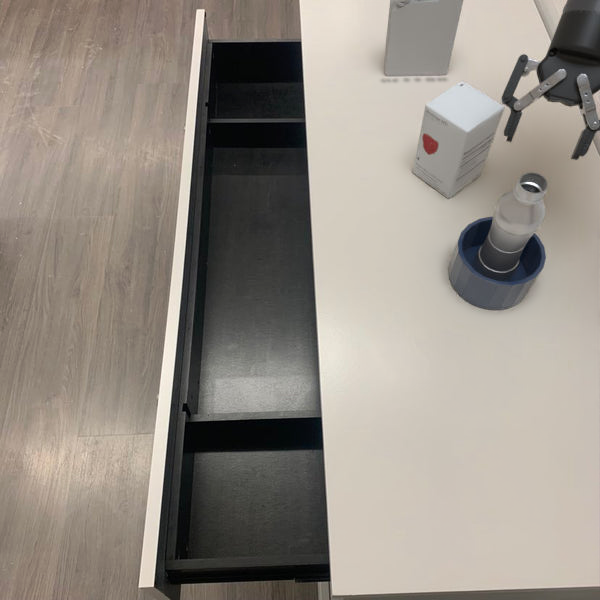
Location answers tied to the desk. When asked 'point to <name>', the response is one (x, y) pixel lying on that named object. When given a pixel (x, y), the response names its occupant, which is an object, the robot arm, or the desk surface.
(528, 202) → the silver bottle
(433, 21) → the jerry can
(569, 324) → the desk surface
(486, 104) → the white product box
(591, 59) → the robot arm
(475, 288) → the bowl
